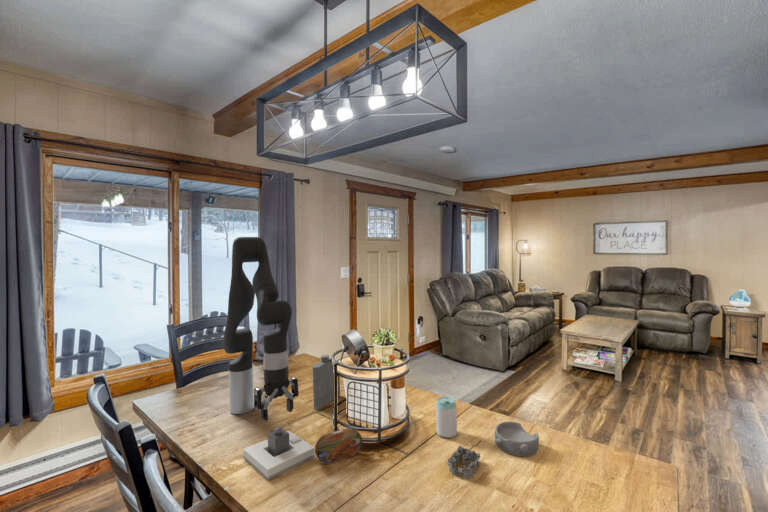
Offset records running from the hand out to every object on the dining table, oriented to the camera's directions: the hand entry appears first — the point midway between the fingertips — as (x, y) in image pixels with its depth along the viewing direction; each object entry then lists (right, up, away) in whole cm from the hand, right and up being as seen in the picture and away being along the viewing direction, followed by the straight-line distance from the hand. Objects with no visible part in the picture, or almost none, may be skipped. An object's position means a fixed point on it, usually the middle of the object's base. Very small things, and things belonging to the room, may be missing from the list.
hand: (277, 415), depth 119 cm
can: (+56, -12, +13) cm, 58 cm away
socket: (0, -13, 0) cm, 14 cm away
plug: (0, -13, 0) cm, 13 cm away
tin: (+19, -13, 0) cm, 24 cm away
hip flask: (+9, -12, +41) cm, 44 cm away
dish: (+77, -12, +4) cm, 78 cm away
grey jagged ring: (+58, -13, -7) cm, 59 cm away
